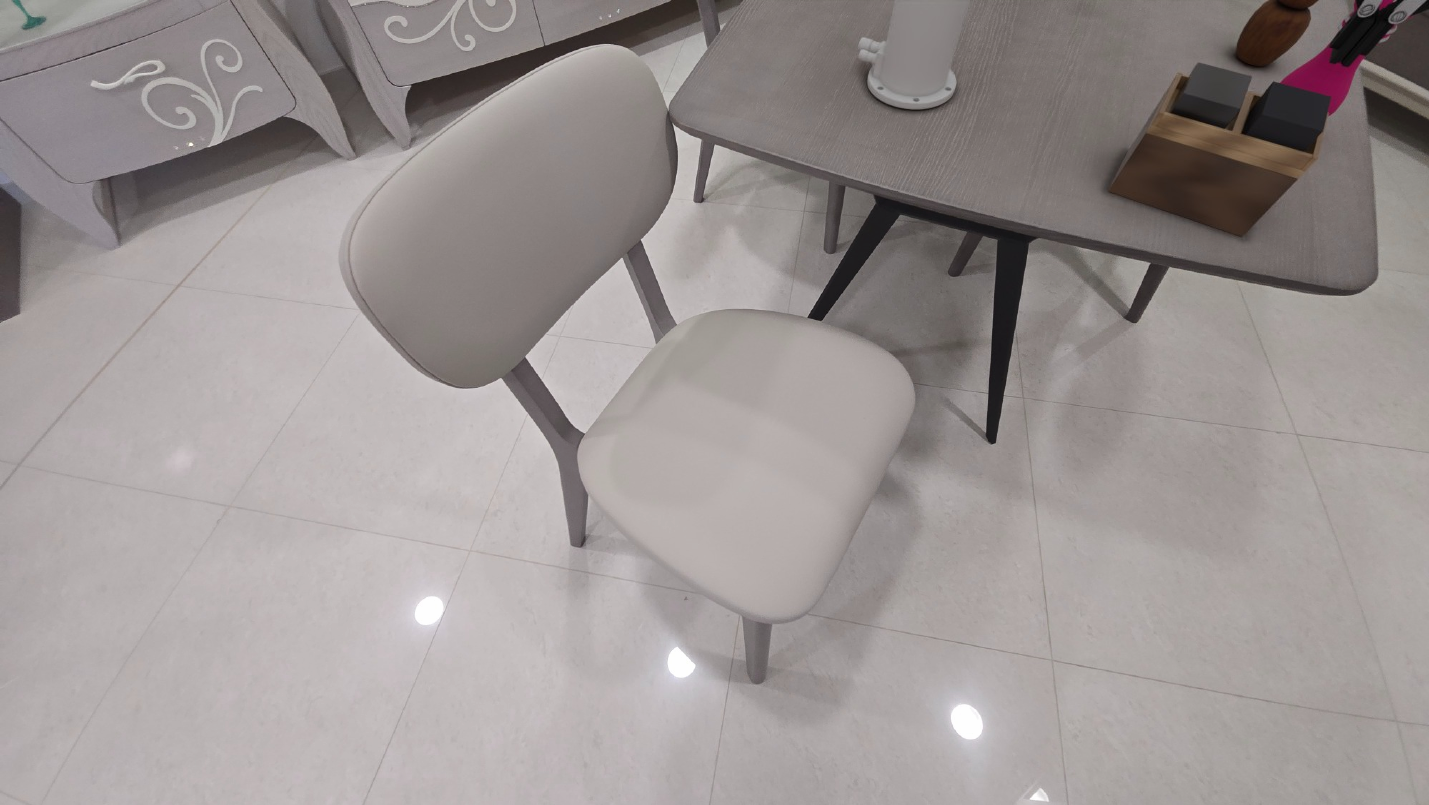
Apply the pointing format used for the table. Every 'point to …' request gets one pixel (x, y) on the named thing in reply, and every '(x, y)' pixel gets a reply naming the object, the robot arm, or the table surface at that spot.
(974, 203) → the table surface
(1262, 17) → the wooden figurine
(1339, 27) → the pink bowling pin
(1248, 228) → the wooden divided box
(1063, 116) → the table surface
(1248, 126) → the black block
